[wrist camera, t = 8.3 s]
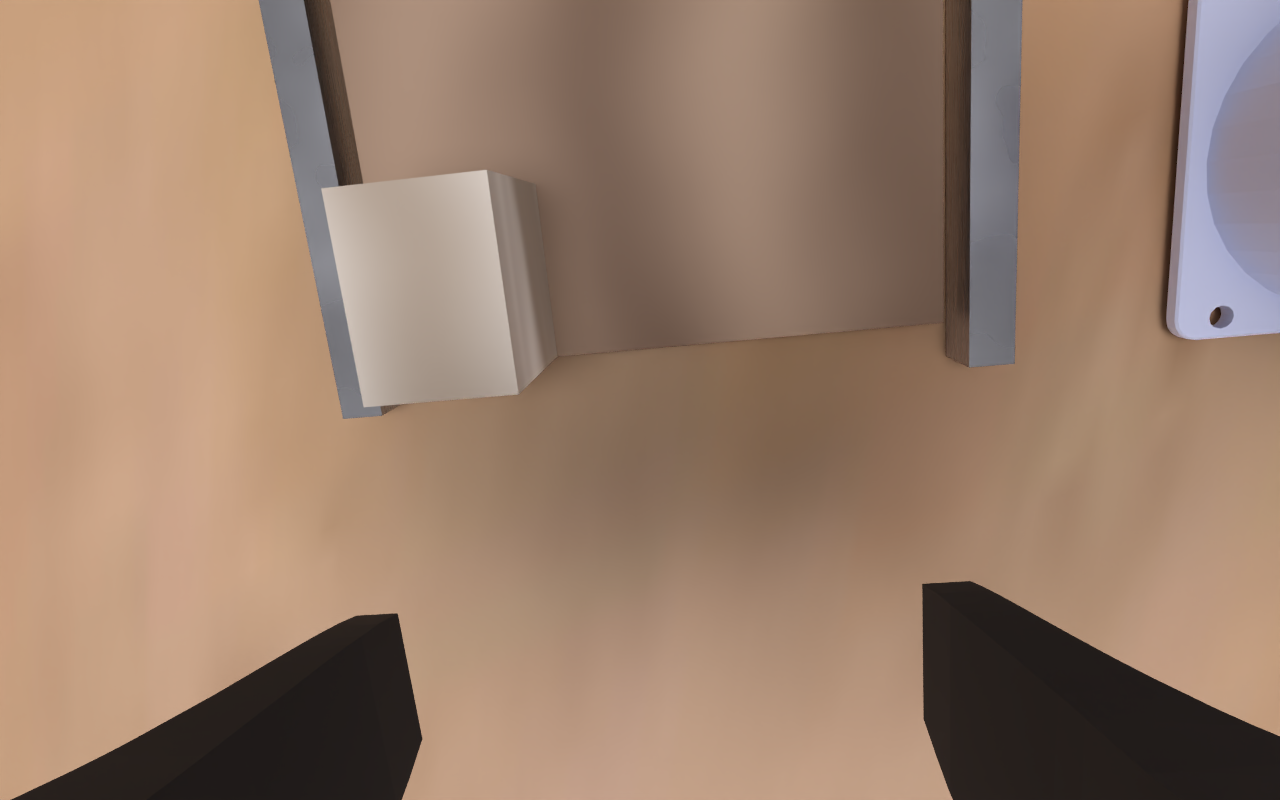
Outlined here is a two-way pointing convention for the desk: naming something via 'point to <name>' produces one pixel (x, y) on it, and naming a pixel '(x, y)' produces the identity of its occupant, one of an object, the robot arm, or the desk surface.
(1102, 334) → the desk surface
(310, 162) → the guide rails
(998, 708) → the robot arm
